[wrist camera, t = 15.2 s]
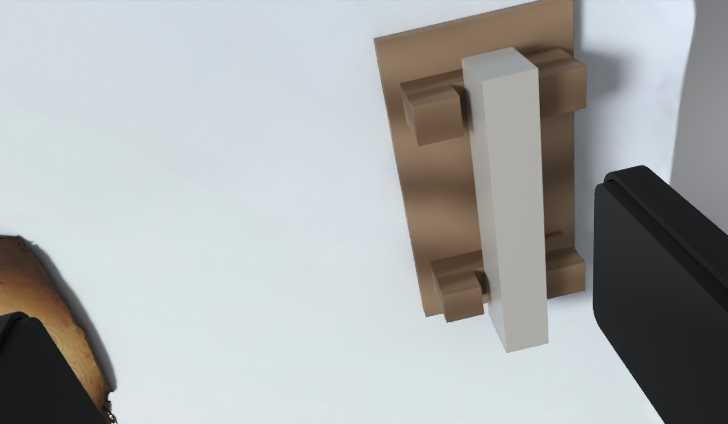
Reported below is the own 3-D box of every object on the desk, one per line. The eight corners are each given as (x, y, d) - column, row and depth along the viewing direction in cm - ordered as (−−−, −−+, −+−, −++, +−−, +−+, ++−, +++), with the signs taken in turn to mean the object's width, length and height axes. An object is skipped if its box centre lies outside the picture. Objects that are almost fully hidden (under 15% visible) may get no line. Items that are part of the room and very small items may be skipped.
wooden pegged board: (373, 38, 36) (386, 63, 32) (566, -6, 36) (604, 13, 32) (423, 309, 48) (437, 353, 44) (569, 274, 48) (598, 315, 44)
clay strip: (461, 58, 35) (481, 81, 31) (512, 46, 35) (538, 68, 31) (488, 314, 45) (506, 353, 42) (527, 305, 45) (548, 343, 42)
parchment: (-117, 233, 39) (-125, 241, 38) (36, 213, 39) (32, 220, 39) (31, 466, 52) (27, 475, 52) (144, 449, 53) (142, 458, 52)
